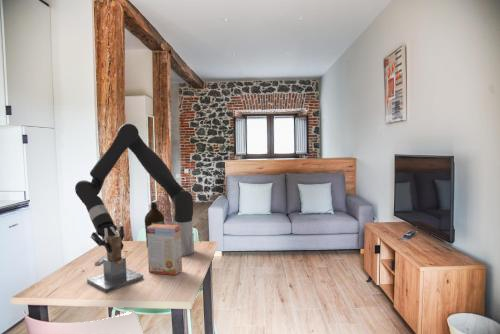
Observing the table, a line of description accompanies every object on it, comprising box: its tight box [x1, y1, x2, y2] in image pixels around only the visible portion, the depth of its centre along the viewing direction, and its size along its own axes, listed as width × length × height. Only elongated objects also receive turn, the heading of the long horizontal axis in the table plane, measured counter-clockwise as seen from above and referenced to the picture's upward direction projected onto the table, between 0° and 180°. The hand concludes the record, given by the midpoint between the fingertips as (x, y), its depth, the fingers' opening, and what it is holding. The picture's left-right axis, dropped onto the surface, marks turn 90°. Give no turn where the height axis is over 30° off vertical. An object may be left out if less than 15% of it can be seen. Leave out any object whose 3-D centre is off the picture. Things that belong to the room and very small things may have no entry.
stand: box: [86, 255, 144, 294], centre depth 130 cm, size 16×16×10 cm
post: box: [106, 234, 122, 261], centre depth 129 cm, size 4×4×17 cm
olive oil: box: [144, 201, 165, 248], centre depth 175 cm, size 11×11×25 cm
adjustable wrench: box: [94, 252, 107, 266], centre depth 160 cm, size 25×6×2 cm, turn 177°
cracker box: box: [147, 224, 183, 276], centre depth 138 cm, size 14×6×21 cm, turn 71°
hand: (116, 250), depth 128 cm, fingers closed on post, 4 cm apart
